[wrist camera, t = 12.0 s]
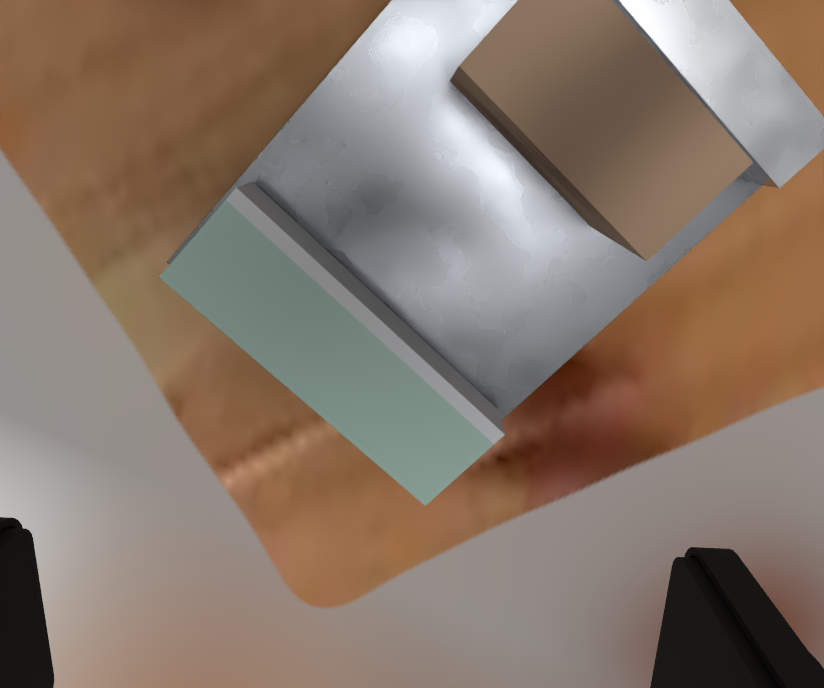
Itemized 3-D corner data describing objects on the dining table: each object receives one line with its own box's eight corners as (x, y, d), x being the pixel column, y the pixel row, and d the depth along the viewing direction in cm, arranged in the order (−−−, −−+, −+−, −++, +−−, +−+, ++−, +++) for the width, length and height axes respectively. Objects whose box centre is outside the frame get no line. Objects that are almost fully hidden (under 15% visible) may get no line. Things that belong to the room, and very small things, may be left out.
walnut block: (449, 80, 25) (458, 66, 19) (526, -5, 24) (565, -53, 18) (591, 227, 27) (646, 261, 20) (669, 152, 26) (753, 162, 19)
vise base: (179, 255, 29) (143, 275, 25) (536, -159, 24) (557, -212, 20) (426, 471, 32) (427, 517, 28) (787, 142, 27) (846, 145, 24)
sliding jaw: (181, 264, 28) (158, 277, 25) (252, 181, 27) (236, 187, 24) (425, 476, 31) (425, 505, 28) (498, 409, 29) (505, 434, 27)
